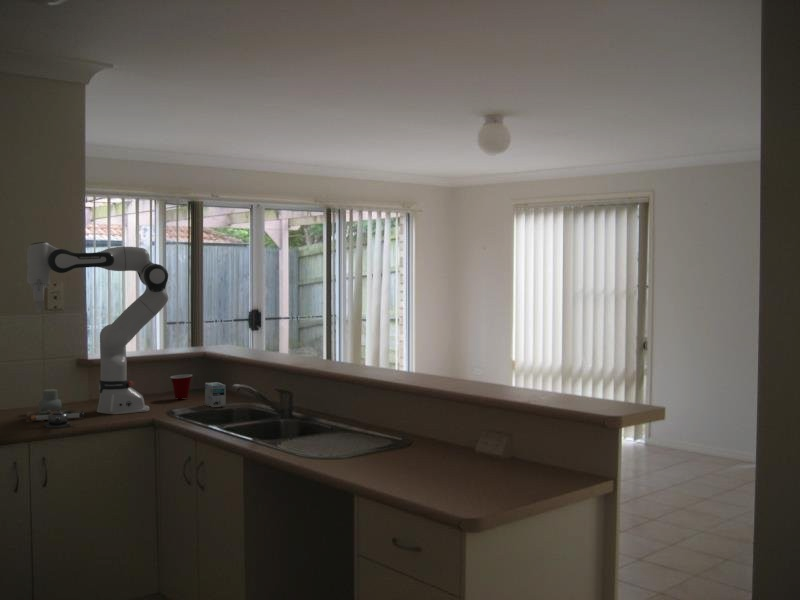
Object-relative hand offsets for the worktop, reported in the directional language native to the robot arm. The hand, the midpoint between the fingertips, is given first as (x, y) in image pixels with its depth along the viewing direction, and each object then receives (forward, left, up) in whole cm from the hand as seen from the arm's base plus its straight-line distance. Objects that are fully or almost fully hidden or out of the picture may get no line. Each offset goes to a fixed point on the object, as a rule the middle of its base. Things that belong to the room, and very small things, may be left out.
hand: (38, 311), depth 327 cm
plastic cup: (-63, -25, -46) cm, 82 cm away
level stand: (-6, +8, -45) cm, 46 cm away
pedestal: (-7, +26, -45) cm, 53 cm away
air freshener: (-4, -8, -46) cm, 46 cm away
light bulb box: (-75, 0, -46) cm, 88 cm away
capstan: (-7, +26, -44) cm, 52 cm away
